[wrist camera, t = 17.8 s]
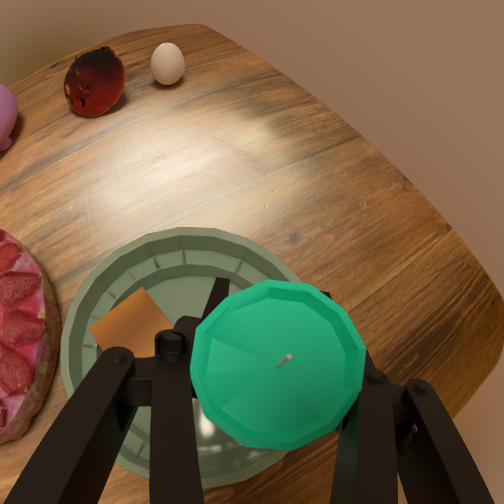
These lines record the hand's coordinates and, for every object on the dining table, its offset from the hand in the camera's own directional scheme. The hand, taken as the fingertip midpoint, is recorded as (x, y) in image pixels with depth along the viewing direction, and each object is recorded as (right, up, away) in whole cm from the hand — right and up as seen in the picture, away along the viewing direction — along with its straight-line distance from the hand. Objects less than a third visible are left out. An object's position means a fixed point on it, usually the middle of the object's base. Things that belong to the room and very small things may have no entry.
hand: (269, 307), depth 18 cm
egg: (-14, +30, +28) cm, 44 cm away
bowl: (-6, -7, +10) cm, 13 cm away
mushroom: (-27, +30, +27) cm, 49 cm away
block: (-10, -5, +9) cm, 15 cm away
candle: (-1, -5, +2) cm, 6 cm away
